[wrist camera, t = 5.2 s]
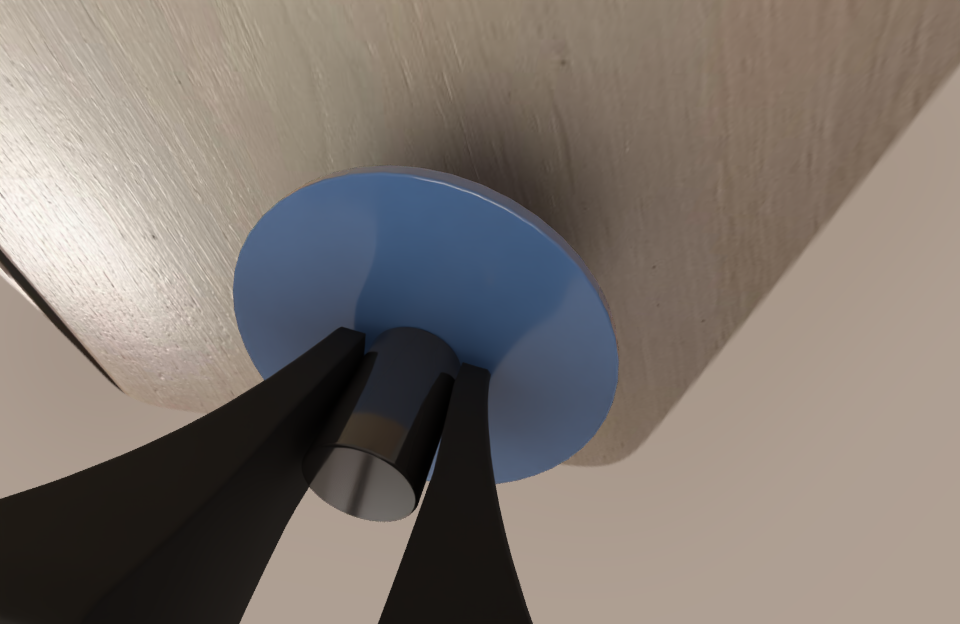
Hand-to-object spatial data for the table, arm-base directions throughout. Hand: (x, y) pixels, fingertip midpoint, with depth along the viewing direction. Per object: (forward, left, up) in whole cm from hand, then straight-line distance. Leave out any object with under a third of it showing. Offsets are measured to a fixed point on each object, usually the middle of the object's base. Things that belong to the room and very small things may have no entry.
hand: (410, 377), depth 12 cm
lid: (0, 0, -1) cm, 1 cm away
